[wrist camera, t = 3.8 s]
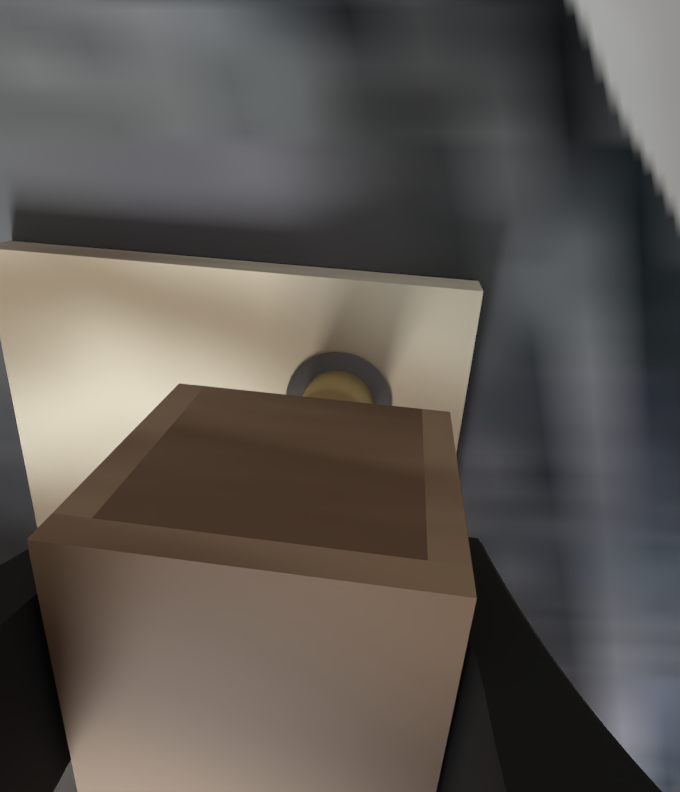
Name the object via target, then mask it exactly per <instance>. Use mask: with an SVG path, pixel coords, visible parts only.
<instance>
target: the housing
mask: <svg viewBox="0 0 680 792" xmlns="http://www.w3.org/2000/svg"><path fill="white" fill-rule="evenodd" d="M26 541H27V545H28V550H29V555H30V560H31V565H32V570H33V575H34V580H35V585H36V590H37V595H38V600H39V604H40V609H41V614H42V619H43V624H44V629H45V634H46V639H47V644H48V649H49V654H50V658H51V663H52V668H53V673H54V678H55V683H56V688H57V693H58V698H59V703H60V708H61V713H62V717H63V722H64V727H65V732H66V737H67V742H68V747H69V752H70V757H71V762H72V767H73V772H74V776H75V781H76V786H77V791H78V792H436V790H437V786H438V781H439V776H440V771H441V767H442V762H443V757H444V752H445V748H446V743H447V738H448V733H449V728H450V724H451V719H452V714H453V709H454V705H455V700H456V695H457V690H458V686H459V681H460V676H461V671H462V667H463V662H464V657H465V652H466V648H467V643H468V638H469V633H470V629H471V624H472V619H473V614H474V609H475V605H476V600H477V596H476V589H475V582H474V575H473V568H472V561H471V554H470V547H469V540H468V533H467V526H466V519H465V512H464V505H463V498H462V491H461V484H460V478H459V471H458V464H457V457H456V450H455V443H454V436H453V429H452V422H451V415H450V412H447V411H438V410H428V409H418V408H409V407H399V406H390V405H380V404H371V403H361V402H352V401H342V400H333V399H323V398H314V397H304V396H294V395H285V394H275V393H266V392H256V391H247V390H237V389H228V388H218V387H209V386H199V385H190V384H180V383H179V384H178V385H177V386H176V387H175V388H174V389H173V390H172V391H171V392H170V393H169V394H168V395H167V396H166V397H165V398H164V399H163V400H162V401H161V402H160V403H159V404H158V405H157V406H156V408H155V409H154V410H153V411H152V412H151V413H150V414H149V415H148V416H147V417H146V418H145V419H144V420H143V421H142V422H141V423H140V424H139V425H138V426H137V427H136V428H135V429H134V430H133V431H132V432H131V433H130V434H129V435H128V436H127V437H126V438H125V439H124V440H123V441H122V442H121V443H120V444H119V445H118V446H117V447H116V448H115V449H114V450H113V451H112V452H111V453H110V455H109V456H108V457H107V458H106V459H105V460H104V461H103V462H102V463H101V464H100V465H99V466H98V467H97V468H96V469H95V470H94V471H93V472H92V473H91V474H90V475H89V476H88V477H87V478H86V479H85V480H84V481H83V482H82V483H81V484H80V485H79V486H78V487H77V488H76V489H75V490H74V491H73V492H72V493H71V494H70V495H69V496H68V497H67V498H66V499H65V500H64V501H63V503H62V504H61V505H60V506H59V507H58V508H57V509H56V510H55V511H54V512H53V513H52V514H51V515H50V516H49V517H48V518H47V519H46V520H45V521H44V522H43V523H42V524H41V525H40V526H39V527H38V528H37V529H36V530H35V531H34V532H33V533H32V534H31V535H30V536H29V537H28V538H27V539H26Z"/></svg>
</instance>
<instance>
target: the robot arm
mask: <svg viewBox="0 0 680 792" xmlns="http://www.w3.org/2000/svg"><path fill="white" fill-rule="evenodd" d="M468 540H469V547H470V554H471V561H472V568H473V575H474V582H475V589H476V596H477V600H476V605H475V609H474V614H473V619H472V624H471V629H470V633H469V638H468V643H467V648H466V652H465V657H464V662H463V667H462V671H461V676H460V681H459V686H458V690H457V695H456V700H455V705H454V709H453V714H452V719H451V724H450V728H449V733H448V738H447V743H446V748H445V752H444V757H443V762H442V767H441V771H440V776H439V781H438V786H437V790H436V792H662V791H661V790H660V789H659V788H658V787H657V786H656V785H655V784H654V782H653V781H652V780H651V779H650V778H649V777H648V776H647V775H646V774H645V772H644V771H643V770H642V769H641V768H640V767H639V766H638V765H637V764H636V762H635V761H634V760H633V759H632V758H631V757H630V756H629V754H628V753H627V752H626V751H625V750H624V748H623V747H622V746H621V745H620V744H619V743H618V741H617V740H616V739H615V738H614V737H613V735H612V734H611V733H610V732H609V731H608V730H607V728H606V727H605V726H604V725H603V723H602V722H601V721H600V720H599V719H598V717H597V716H596V715H595V714H594V712H593V711H592V710H591V708H590V707H589V706H588V705H587V703H586V702H585V701H584V700H583V698H582V697H581V696H580V694H579V693H578V692H577V690H576V689H575V688H574V686H573V685H572V684H571V682H570V681H569V680H568V678H567V677H566V676H565V674H564V673H563V671H562V670H561V669H560V667H559V666H558V665H557V663H556V662H555V660H554V659H553V658H552V656H551V655H550V653H549V652H548V651H547V649H546V648H545V646H544V645H543V643H542V642H541V640H540V639H539V637H538V636H537V634H536V633H535V631H534V630H533V628H532V627H531V625H530V624H529V622H528V621H527V619H526V618H525V616H524V615H523V613H522V611H521V610H520V608H519V607H518V605H517V604H516V602H515V600H514V599H513V597H512V595H511V594H510V592H509V590H508V589H507V587H506V585H505V584H504V582H503V580H502V579H501V577H500V575H499V573H498V572H497V570H496V568H495V566H494V565H493V563H492V561H491V559H490V557H489V556H488V554H487V552H486V550H485V548H484V546H483V545H482V543H481V542H480V541H479V540H478V538H470V537H468ZM70 760H71V757H70V752H69V747H68V742H67V737H66V732H65V727H64V722H63V717H62V713H61V708H60V703H59V698H58V693H57V688H56V683H55V678H54V673H53V668H52V663H51V658H50V654H49V649H48V644H47V639H46V634H45V629H44V624H43V619H42V614H41V609H40V604H39V600H38V595H37V590H36V585H35V580H34V575H33V570H32V565H31V560H30V555H29V550H26V551H24V552H23V553H21V554H19V555H17V556H16V557H14V558H12V559H11V560H9V561H7V562H5V563H3V564H2V565H0V792H54V790H55V788H56V786H57V784H58V782H59V780H60V778H61V776H62V775H63V773H64V771H65V769H66V767H67V765H68V764H69V762H70Z"/></svg>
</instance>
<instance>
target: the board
mask: <svg viewBox="0 0 680 792" xmlns="http://www.w3.org/2000/svg"><path fill="white" fill-rule="evenodd" d="M482 297H483V289H482V287H481V285H480V283H479V281H473V280H462V279H450V278H438V277H427V276H415V275H403V274H392V273H380V272H368V271H357V270H345V269H333V268H322V267H310V266H298V265H287V264H275V263H264V262H252V261H240V260H229V259H217V258H205V257H194V256H182V255H170V254H159V253H147V252H135V251H124V250H112V249H100V248H89V247H77V246H65V245H54V244H42V243H30V242H19V241H8V242H4V243H0V339H1V344H2V350H3V355H4V360H5V365H6V370H7V375H8V380H9V385H10V390H11V396H12V401H13V406H14V411H15V416H16V421H17V426H18V431H19V436H20V442H21V447H22V452H23V457H24V462H25V467H26V472H27V477H28V482H29V487H30V493H31V498H32V503H33V508H34V513H35V518H36V523H37V528H38V527H39V526H40V525H41V524H42V523H43V522H44V521H45V520H46V519H47V518H48V517H49V516H50V515H51V514H52V513H53V512H54V511H55V510H56V509H57V508H58V507H59V506H60V505H61V504H62V503H63V501H64V500H65V499H66V498H67V497H68V496H69V495H70V494H71V493H72V492H73V491H74V490H75V489H76V488H77V487H78V486H79V485H80V484H81V483H82V482H83V481H84V480H85V479H86V478H87V477H88V476H89V475H90V474H91V473H92V472H93V471H94V470H95V469H96V468H97V467H98V466H99V465H100V464H101V463H102V462H103V461H104V460H105V459H106V458H107V457H108V456H109V455H110V453H111V452H112V451H113V450H114V449H115V448H116V447H117V446H118V445H119V444H120V443H121V442H122V441H123V440H124V439H125V438H126V437H127V436H128V435H129V434H130V433H131V432H132V431H133V430H134V429H135V428H136V427H137V426H138V425H139V424H140V423H141V422H142V421H143V420H144V419H145V418H146V417H147V416H148V415H149V414H150V413H151V412H152V411H153V410H154V409H155V408H156V406H157V405H158V404H159V403H160V402H161V401H162V400H163V399H164V398H165V397H166V396H167V395H168V394H169V393H170V392H171V391H172V390H173V389H174V388H175V387H176V386H177V385H178V384H179V383H180V384H190V385H199V386H209V387H218V388H228V389H237V390H247V391H256V392H266V393H275V394H285V395H294V396H304V397H314V398H323V399H333V400H342V401H352V402H361V403H371V404H380V405H390V406H399V407H409V408H418V409H428V410H438V411H447V412H450V415H451V422H452V429H453V436H454V443H455V450H456V452H457V446H458V440H459V434H460V428H461V422H462V416H463V410H464V404H465V398H466V392H467V386H468V380H469V374H470V368H471V362H472V357H473V351H474V345H475V339H476V333H477V327H478V321H479V315H480V309H481V303H482Z"/></svg>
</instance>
